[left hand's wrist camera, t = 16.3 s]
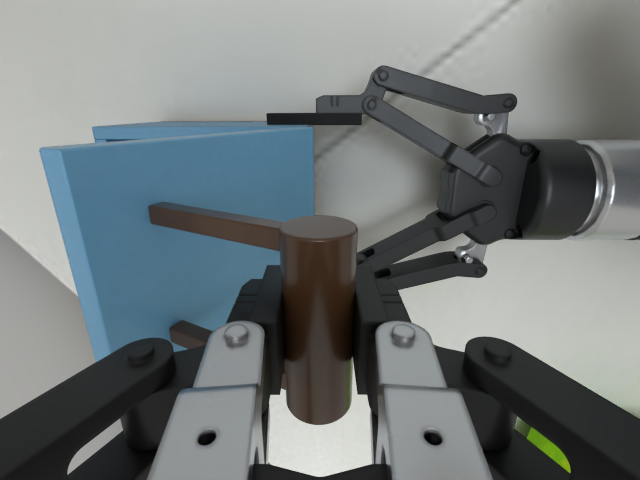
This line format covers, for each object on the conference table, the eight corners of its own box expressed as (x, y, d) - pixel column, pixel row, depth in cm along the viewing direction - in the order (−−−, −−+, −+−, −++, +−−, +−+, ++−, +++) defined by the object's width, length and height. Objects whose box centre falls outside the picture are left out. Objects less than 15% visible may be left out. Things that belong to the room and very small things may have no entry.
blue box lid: (108, 413, 13) (306, 535, 10) (36, 147, 10) (298, 170, 6) (301, 271, 25) (425, 301, 21) (298, 126, 22) (445, 130, 18)
